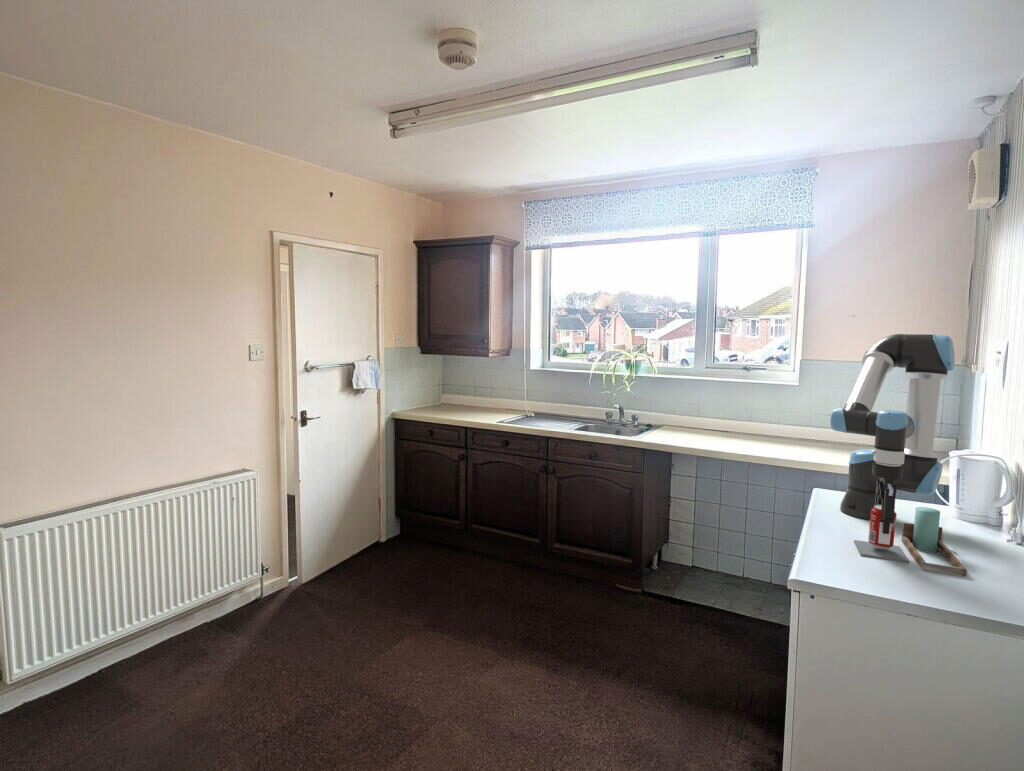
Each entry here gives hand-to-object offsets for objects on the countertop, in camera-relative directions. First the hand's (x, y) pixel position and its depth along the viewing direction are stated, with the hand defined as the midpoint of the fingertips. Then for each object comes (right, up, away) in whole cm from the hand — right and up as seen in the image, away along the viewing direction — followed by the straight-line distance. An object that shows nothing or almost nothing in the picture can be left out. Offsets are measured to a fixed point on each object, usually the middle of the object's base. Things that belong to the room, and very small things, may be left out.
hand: (881, 539), depth 171 cm
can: (+15, -4, +4) cm, 16 cm away
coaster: (0, -4, 0) cm, 4 cm away
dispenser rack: (+12, -4, -3) cm, 14 cm away
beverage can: (0, -2, 0) cm, 2 cm away
